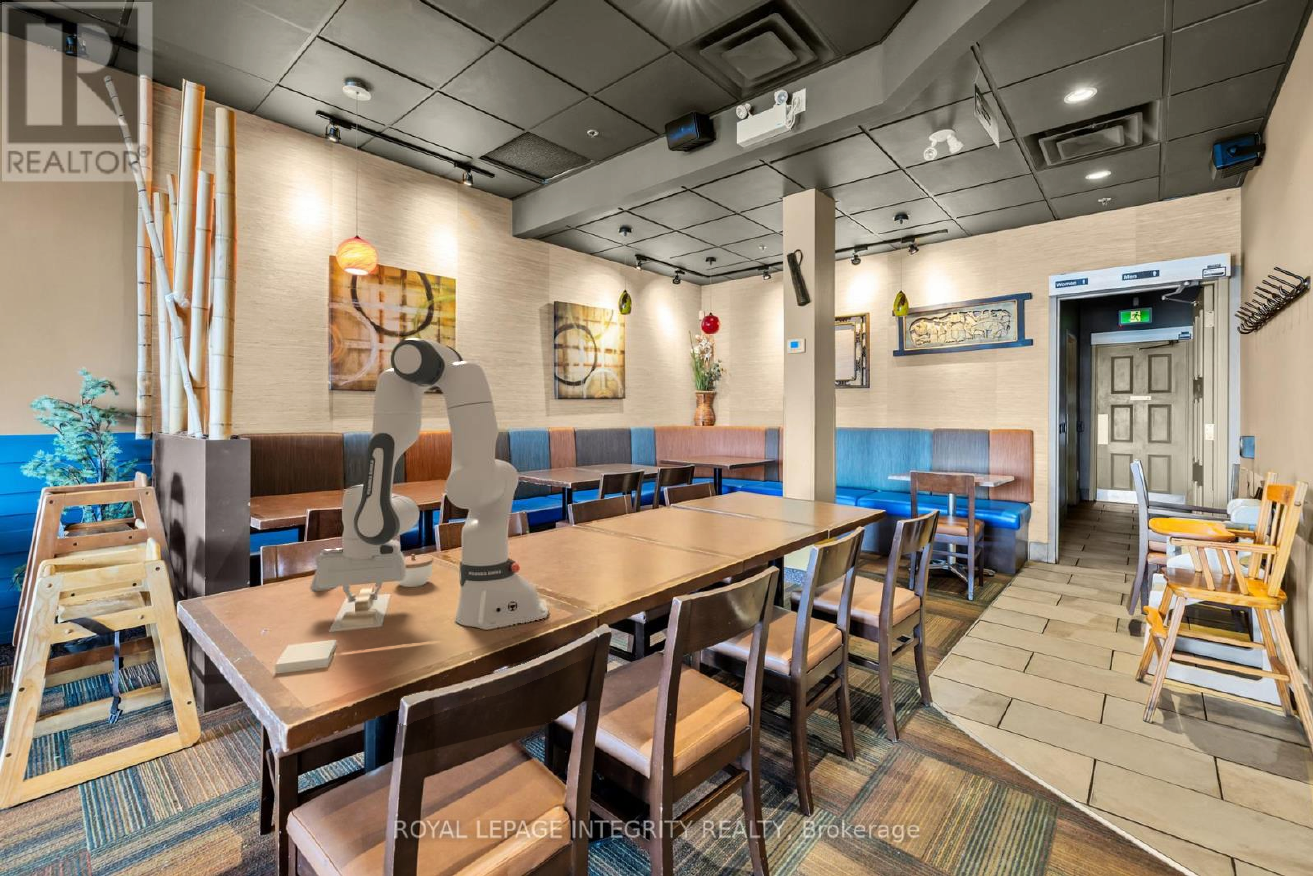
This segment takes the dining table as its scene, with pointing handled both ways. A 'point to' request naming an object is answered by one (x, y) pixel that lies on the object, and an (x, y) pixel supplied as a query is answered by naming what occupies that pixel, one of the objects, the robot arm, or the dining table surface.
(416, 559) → the lidded jar
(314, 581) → the flask
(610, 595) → the dining table surface
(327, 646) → the rectangular block
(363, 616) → the turner
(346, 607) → the mat
